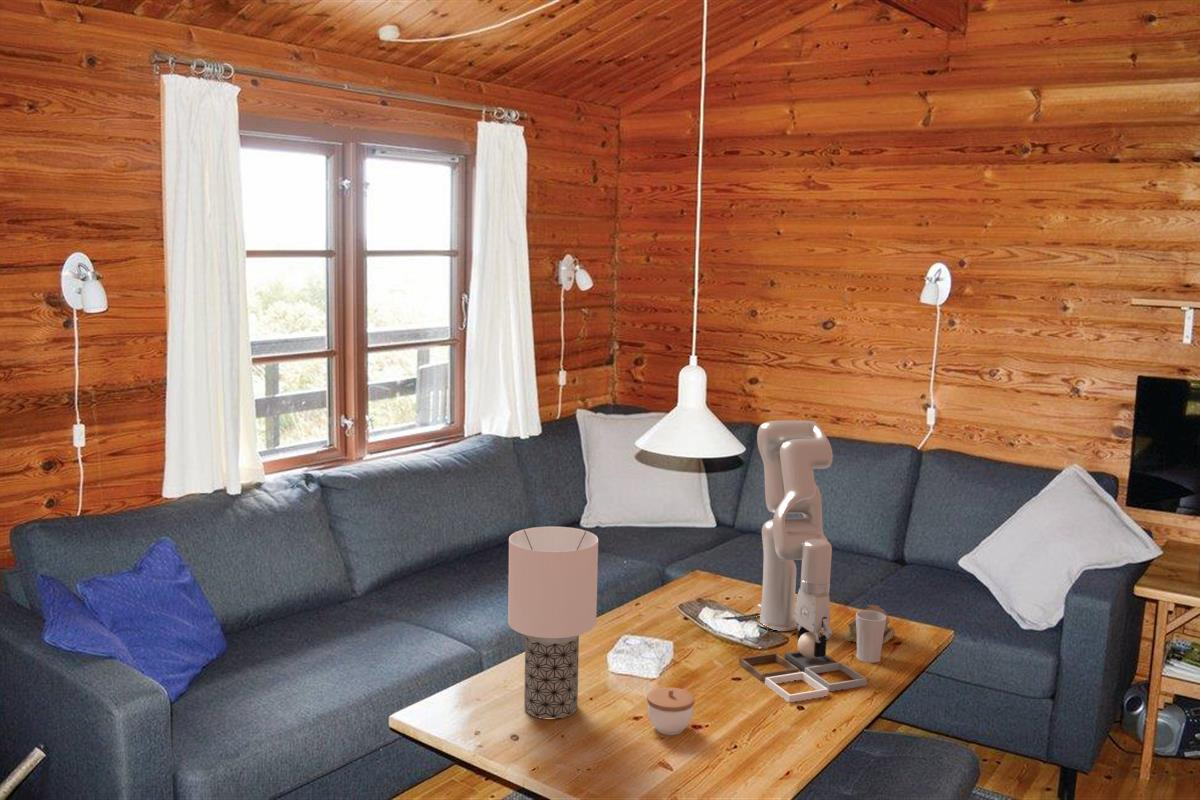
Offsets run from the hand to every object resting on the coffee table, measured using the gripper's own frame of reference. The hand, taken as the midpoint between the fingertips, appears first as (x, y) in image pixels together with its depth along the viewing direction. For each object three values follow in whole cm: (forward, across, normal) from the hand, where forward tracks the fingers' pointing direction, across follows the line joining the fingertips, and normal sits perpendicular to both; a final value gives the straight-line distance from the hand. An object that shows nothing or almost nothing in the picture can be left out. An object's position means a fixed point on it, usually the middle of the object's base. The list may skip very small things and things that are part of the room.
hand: (811, 650), depth 276 cm
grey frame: (+4, +11, 0) cm, 12 cm away
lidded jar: (+4, +21, -52) cm, 56 cm away
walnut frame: (+4, 0, -13) cm, 14 cm away
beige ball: (+2, 0, 0) cm, 2 cm away
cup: (+4, +2, +17) cm, 17 cm away
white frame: (+4, +13, -13) cm, 19 cm away
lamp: (+4, +2, -74) cm, 74 cm away
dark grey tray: (+4, 0, 0) cm, 4 cm away
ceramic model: (+4, -10, +26) cm, 28 cm away
